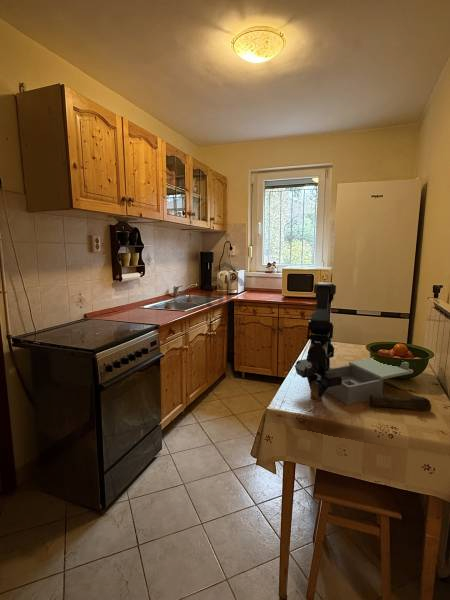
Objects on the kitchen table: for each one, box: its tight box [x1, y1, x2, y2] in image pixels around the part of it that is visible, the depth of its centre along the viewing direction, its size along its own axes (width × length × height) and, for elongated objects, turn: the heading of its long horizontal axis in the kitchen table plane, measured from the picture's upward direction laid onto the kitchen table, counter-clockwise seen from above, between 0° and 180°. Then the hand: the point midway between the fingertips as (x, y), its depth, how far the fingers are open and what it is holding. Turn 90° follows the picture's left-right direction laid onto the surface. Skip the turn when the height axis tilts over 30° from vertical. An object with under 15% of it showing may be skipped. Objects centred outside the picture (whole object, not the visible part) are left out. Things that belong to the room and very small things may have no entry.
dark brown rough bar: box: [368, 395, 432, 412], centre depth 107 cm, size 19×4×5 cm, turn 76°
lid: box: [348, 357, 414, 380], centre depth 124 cm, size 16×16×3 cm
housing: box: [317, 364, 384, 406], centre depth 119 cm, size 16×16×6 cm
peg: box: [310, 380, 323, 402], centre depth 114 cm, size 4×4×6 cm
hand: (316, 394), depth 114 cm, fingers open, 4 cm apart
